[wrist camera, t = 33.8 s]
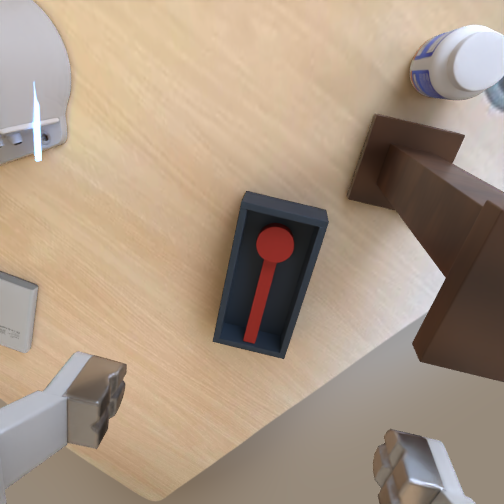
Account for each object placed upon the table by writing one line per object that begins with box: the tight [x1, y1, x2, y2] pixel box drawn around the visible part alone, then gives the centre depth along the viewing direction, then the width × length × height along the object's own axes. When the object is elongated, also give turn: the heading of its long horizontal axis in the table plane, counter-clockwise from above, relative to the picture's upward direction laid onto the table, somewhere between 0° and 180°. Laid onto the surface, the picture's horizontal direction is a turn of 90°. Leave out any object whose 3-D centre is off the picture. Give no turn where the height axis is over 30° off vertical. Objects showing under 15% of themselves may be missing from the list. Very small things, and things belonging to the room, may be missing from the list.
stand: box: [347, 114, 504, 382], centre depth 28 cm, size 10×9×26 cm
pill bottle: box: [410, 25, 504, 100], centre depth 31 cm, size 5×5×10 cm
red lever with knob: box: [243, 223, 294, 344], centre depth 45 cm, size 16×4×2 cm, turn 168°
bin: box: [213, 191, 329, 359], centre depth 45 cm, size 20×10×4 cm, turn 168°
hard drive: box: [0, 271, 38, 353], centre depth 54 cm, size 2×8×12 cm
